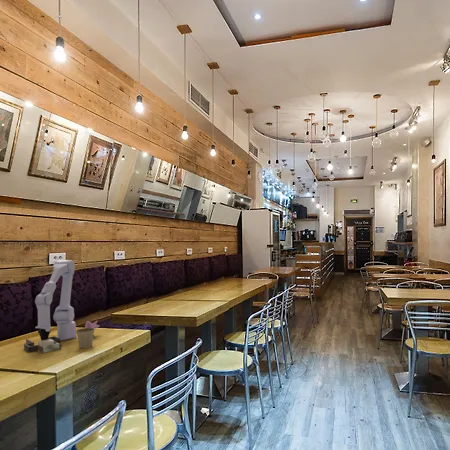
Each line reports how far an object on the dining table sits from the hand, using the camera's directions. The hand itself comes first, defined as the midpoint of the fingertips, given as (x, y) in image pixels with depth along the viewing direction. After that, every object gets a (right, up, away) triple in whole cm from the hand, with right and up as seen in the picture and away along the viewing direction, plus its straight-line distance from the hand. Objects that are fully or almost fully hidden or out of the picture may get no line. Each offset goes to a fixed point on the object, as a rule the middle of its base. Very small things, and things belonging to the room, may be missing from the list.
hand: (44, 343), depth 198 cm
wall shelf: (-2, -2, +2) cm, 3 cm away
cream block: (+3, -2, -4) cm, 5 cm away
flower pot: (+22, -1, -2) cm, 23 cm away
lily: (+17, -2, +18) cm, 25 cm away
